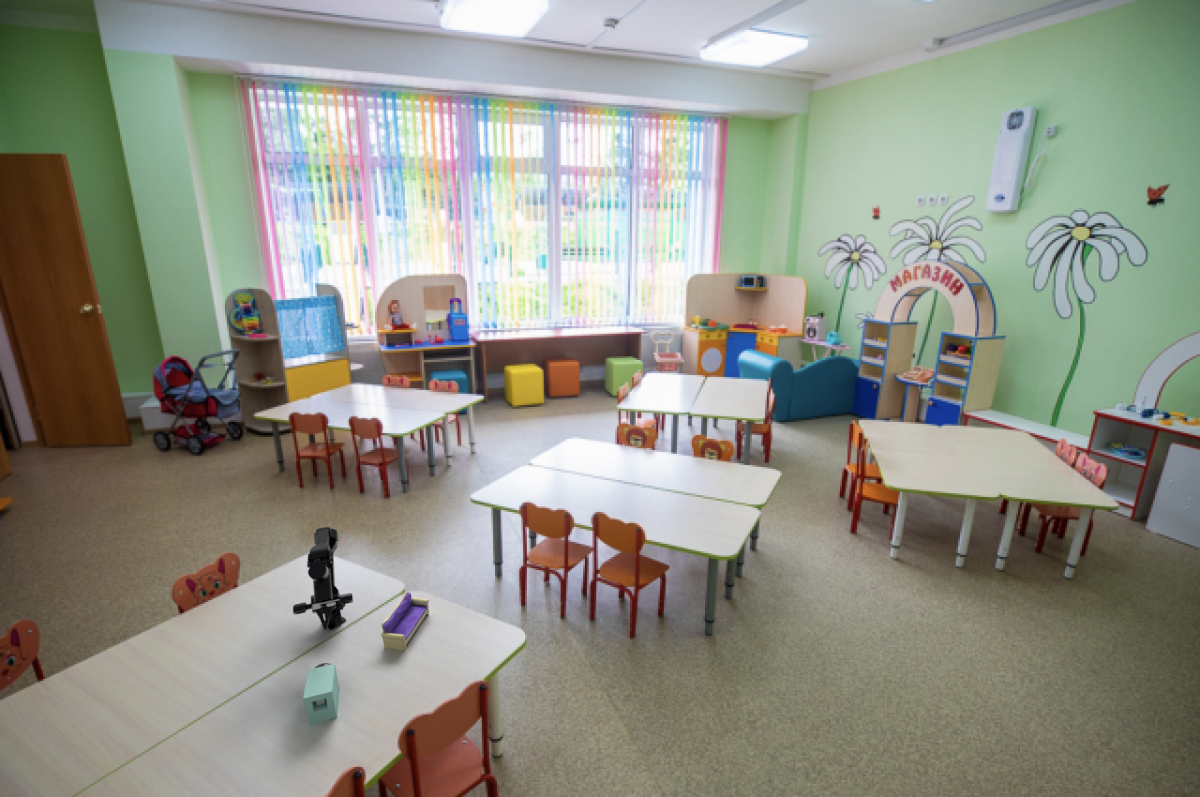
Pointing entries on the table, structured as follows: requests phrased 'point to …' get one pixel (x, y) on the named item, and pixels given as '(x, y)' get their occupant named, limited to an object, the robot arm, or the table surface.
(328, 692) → the block
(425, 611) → the toy sofa
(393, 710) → the table surface
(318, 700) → the plunger
